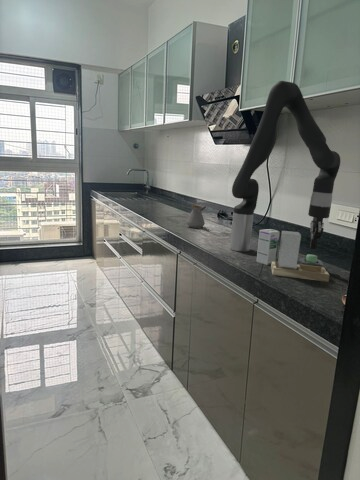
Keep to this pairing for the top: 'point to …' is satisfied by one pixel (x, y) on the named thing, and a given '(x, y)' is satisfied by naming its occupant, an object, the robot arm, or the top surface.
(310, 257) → the button
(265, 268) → the top surface
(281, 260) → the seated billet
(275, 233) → the syrup box
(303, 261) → the dark grey square block
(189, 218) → the coffee pot
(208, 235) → the top surface
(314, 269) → the wooden tray
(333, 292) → the top surface
